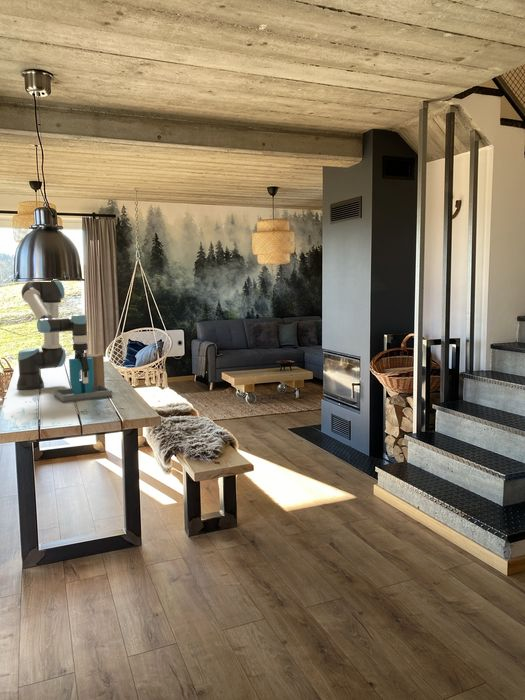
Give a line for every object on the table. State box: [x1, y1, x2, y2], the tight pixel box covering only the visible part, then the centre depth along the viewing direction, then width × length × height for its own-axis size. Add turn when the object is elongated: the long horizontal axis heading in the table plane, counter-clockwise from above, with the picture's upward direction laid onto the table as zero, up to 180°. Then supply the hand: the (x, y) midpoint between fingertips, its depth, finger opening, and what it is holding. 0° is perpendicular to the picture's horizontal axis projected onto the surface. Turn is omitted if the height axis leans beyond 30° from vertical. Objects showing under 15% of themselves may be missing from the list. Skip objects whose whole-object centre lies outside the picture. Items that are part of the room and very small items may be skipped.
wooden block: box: [81, 353, 106, 387], centre depth 330 cm, size 10×10×20 cm
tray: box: [53, 385, 113, 404], centre depth 308 cm, size 20×26×4 cm
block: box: [68, 358, 94, 395], centre depth 306 cm, size 12×5×20 cm, turn 118°
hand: (82, 381), depth 307 cm, fingers open, 13 cm apart
